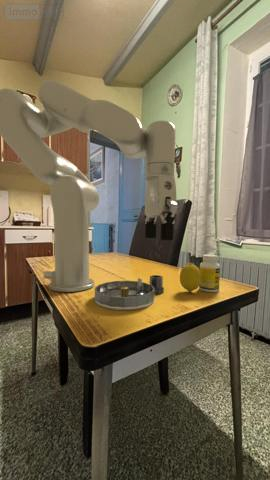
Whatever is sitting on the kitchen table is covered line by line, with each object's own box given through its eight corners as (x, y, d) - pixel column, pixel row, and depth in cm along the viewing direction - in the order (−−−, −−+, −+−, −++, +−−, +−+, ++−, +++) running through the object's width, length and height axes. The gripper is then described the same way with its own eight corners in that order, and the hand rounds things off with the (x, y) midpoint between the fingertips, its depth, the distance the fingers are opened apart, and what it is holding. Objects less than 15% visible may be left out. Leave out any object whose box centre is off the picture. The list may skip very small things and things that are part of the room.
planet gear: (152, 294, 56) (152, 278, 56) (146, 290, 60) (146, 275, 59) (166, 293, 57) (166, 277, 57) (159, 289, 61) (159, 274, 61)
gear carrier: (85, 308, 46) (85, 285, 46) (105, 289, 60) (105, 271, 60) (151, 313, 44) (151, 288, 44) (156, 292, 58) (156, 274, 58)
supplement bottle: (217, 293, 57) (219, 257, 57) (197, 290, 60) (198, 255, 59) (220, 288, 62) (221, 254, 61) (201, 286, 65) (202, 253, 64)
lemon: (203, 295, 56) (204, 264, 55) (181, 295, 56) (182, 264, 55) (197, 289, 61) (198, 261, 61) (177, 289, 61) (178, 261, 61)
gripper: (191, 166, 50) (188, 241, 51) (158, 181, 66) (156, 237, 67) (161, 163, 47) (159, 241, 48) (134, 179, 63) (133, 237, 64)
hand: (158, 238), depth 58 cm, fingers open, 9 cm apart
